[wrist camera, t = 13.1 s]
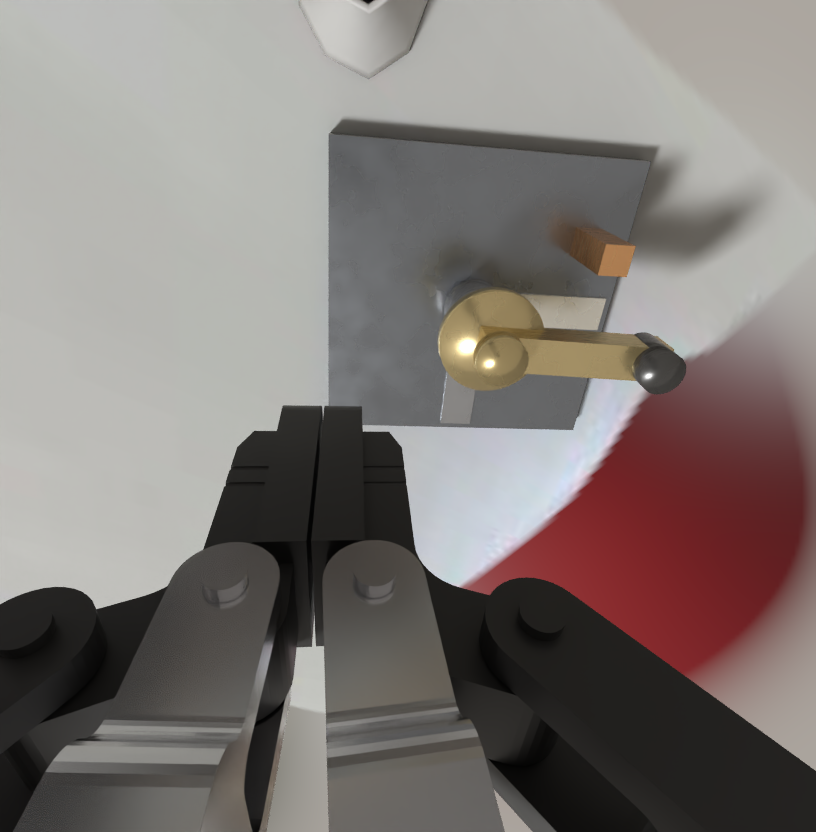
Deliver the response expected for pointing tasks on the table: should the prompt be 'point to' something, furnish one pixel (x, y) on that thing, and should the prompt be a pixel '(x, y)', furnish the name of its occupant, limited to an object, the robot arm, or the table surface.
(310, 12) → the flask
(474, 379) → the brass lever handle
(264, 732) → the robot arm
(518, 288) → the lock base
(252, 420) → the table surface
